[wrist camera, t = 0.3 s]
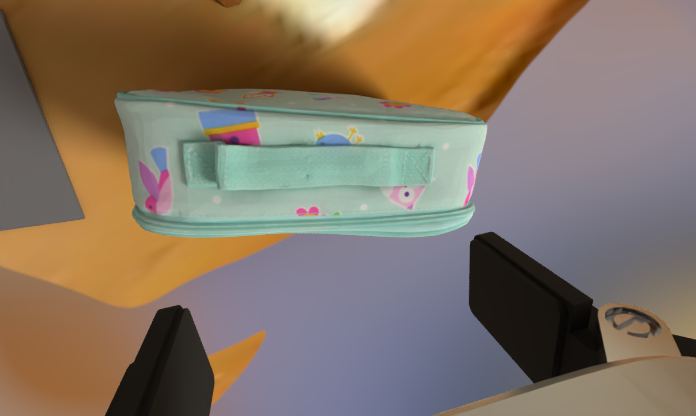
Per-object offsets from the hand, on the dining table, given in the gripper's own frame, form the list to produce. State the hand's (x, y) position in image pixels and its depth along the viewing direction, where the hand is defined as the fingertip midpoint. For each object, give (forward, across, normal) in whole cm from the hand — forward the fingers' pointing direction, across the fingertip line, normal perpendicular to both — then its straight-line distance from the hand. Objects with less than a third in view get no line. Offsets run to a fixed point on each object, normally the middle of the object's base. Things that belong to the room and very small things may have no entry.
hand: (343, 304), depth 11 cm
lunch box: (+31, -1, 0) cm, 31 cm away
